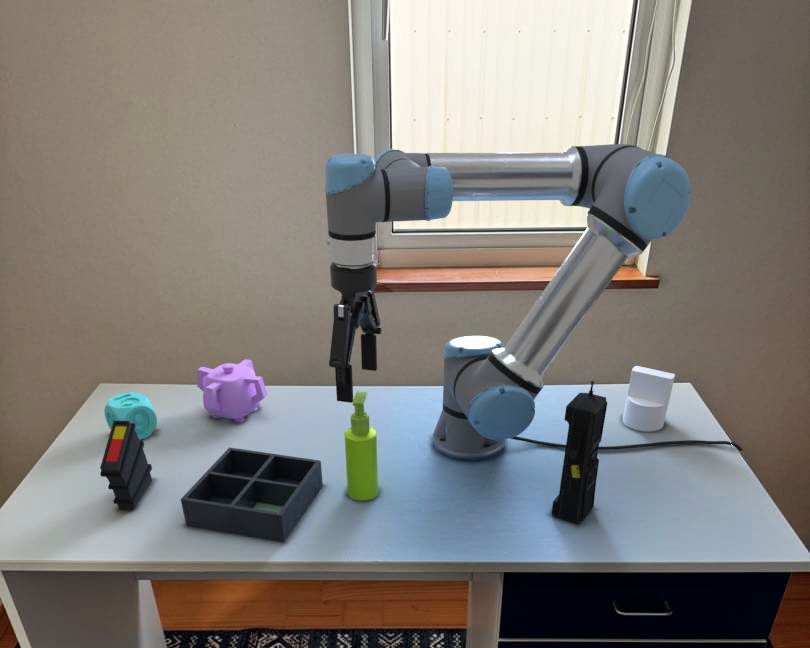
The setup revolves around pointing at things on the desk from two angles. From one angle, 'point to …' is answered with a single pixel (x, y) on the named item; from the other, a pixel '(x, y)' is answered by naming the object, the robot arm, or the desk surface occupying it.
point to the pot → (231, 390)
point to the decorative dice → (132, 412)
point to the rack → (253, 494)
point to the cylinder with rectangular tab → (647, 399)
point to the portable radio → (580, 457)
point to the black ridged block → (126, 465)
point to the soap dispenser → (361, 453)
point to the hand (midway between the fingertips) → (357, 384)
